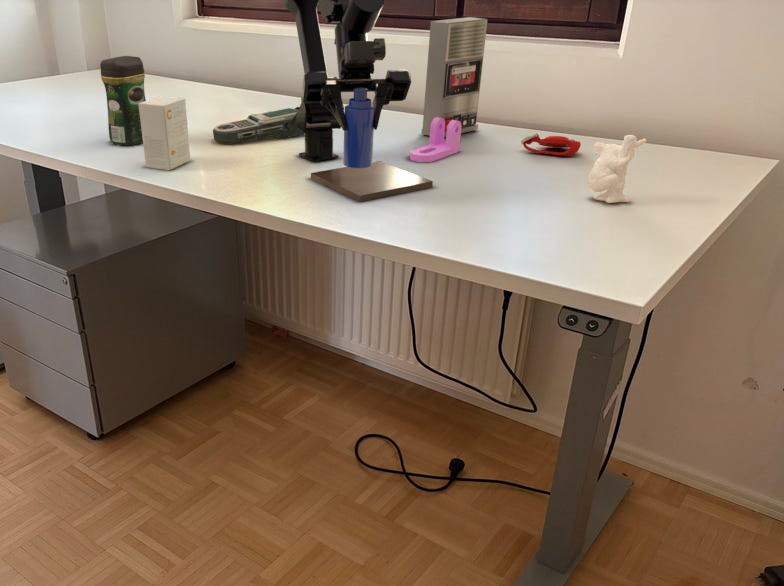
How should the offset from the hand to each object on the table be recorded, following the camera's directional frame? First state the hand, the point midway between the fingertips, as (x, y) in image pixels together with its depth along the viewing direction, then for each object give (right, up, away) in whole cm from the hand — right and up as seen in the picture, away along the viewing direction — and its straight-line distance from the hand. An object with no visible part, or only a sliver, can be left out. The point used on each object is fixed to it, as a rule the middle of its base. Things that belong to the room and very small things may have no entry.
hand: (360, 128), depth 129 cm
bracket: (+18, +4, +33) cm, 38 cm away
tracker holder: (+45, +6, +36) cm, 57 cm away
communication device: (-20, +13, +48) cm, 54 cm away
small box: (-39, +1, +28) cm, 48 cm away
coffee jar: (-50, +11, +45) cm, 68 cm away
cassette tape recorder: (+26, +15, +51) cm, 59 cm away
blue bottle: (0, -5, +4) cm, 7 cm away
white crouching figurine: (+46, -11, +6) cm, 47 cm away
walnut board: (+3, -6, +16) cm, 17 cm away
